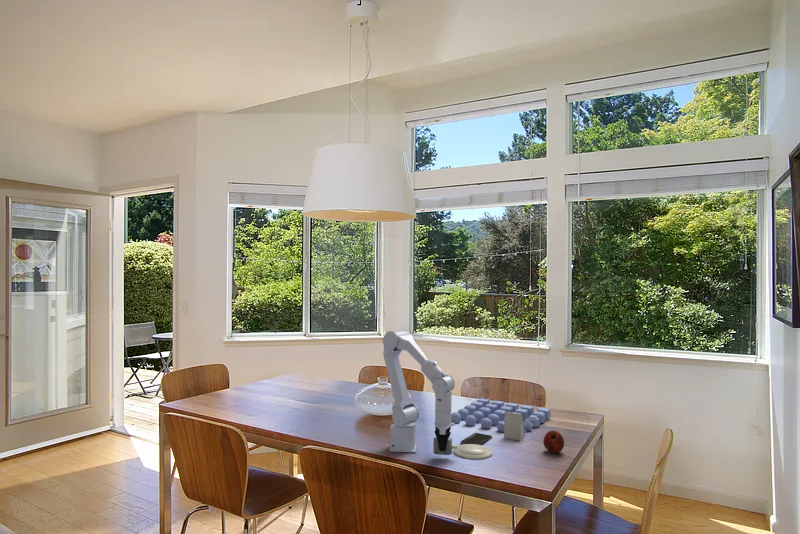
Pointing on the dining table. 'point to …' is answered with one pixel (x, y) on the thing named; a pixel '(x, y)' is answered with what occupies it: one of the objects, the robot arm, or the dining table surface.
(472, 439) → the phone
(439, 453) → the connector
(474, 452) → the plate
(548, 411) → the blocks
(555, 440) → the apple
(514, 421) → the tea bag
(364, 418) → the dining table surface
